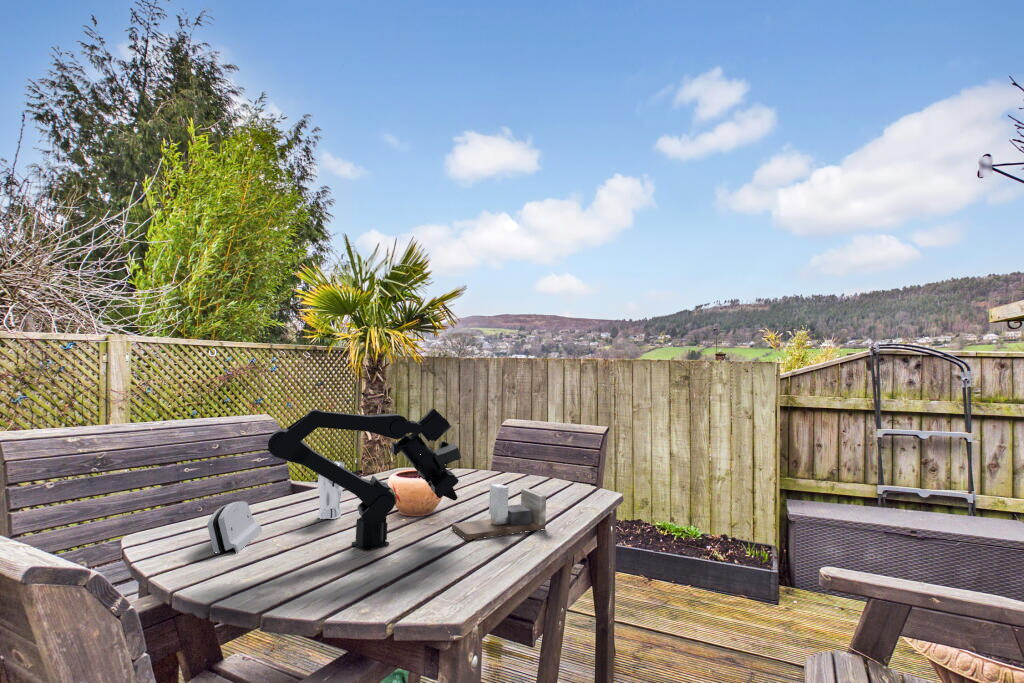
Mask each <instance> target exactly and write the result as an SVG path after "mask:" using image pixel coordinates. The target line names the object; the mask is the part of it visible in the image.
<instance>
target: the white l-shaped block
mask: <svg viewBox="0 0 1024 683" xmlns="http://www.w3.org/2000/svg"><path fill="white" fill-rule="evenodd" d="M508 506H509V486H506V485H504V484H501V483H492V484H489V507H488V508H489V510H488V514H489V515H490V519H491V523H493V524H495V525H499V524H507V523H509V514H508Z"/></svg>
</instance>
